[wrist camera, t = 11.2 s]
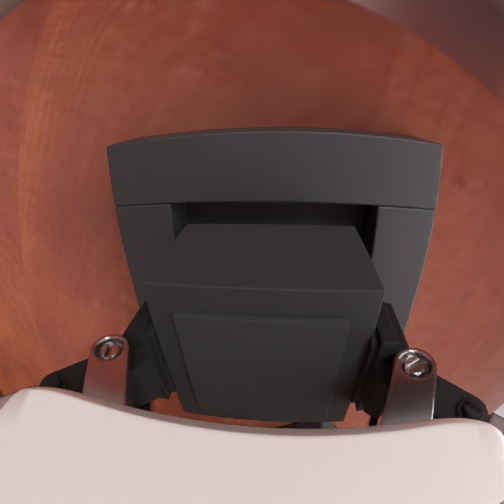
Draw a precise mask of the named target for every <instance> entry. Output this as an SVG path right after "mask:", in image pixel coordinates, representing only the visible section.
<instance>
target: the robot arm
mask: <svg viewBox="0 0 504 504" xmlns="http://www.w3.org/2000/svg"><path fill="white" fill-rule="evenodd" d="M436 373H437V367H436V362H435V360H434V359H433V357H432V356H431V355H430V354H429V353H427V352H425V351H424V350H421V349H418V348H409V347H408V344H407V341H406V339H405V336H404V334H403V331H402V329H401V326H400V324H399V321H398V319H397V316H396V314H395V311H394V309H393V307H392V305H391V303H389V302H386V303H385V302H384V300H383V302H382V306H381V310H380V314H379V317H378V321H377V325H376V328H375V332H374V335H373V336H371V338H370V341H369V345H368V348H367V351H366V354H365V358H364V361H363V364H362V367H361V370H360V373H359V376H358V379H357V382H356V385H355V387H354V390H353V393H352V396H351V398H350V401H351V403H353V402H355V405H356V411H358V410H364V412H366V413H367V414H368V415H369V418H368V421H367V424H366V426H365V427H351V428H330V429H287V428H264V427H250V426H239V425H229V424H220V423H213V422H205V421H199V420H192V419H186V418H180V417H175V416H170V415H165V414H160V413H155V406H154V400H156V399H158V397H159V398H164V399H169V397H170V394H171V392H175V391H176V387H175V384H174V382H173V379H172V376H171V373H170V371H169V368H168V365H167V362H166V359H165V356H164V353H163V350H162V347H161V344H160V341H159V338H158V335H157V332H156V328H155V327H154V325H153V322H152V319H151V315H150V312H149V309H148V305H147V301H146V300H145V302H144V303H143V305H142V306H141V308H140V309H139V311H138V312H137V314H136V315H135V317H134V318H133V320H132V321H131V323H130V324H129V326H128V328H127V329H126V331H125V332H124V334H123V335H122V336H121V335H117V334H111V335H106V336H104V337H102V338H100V339H98V340H97V341H96V342H95V343H94V344H93V345H92V347H91V350H90V354H89V358H88V359H86V360H83V361H81V362H78V363H76V364H73V365H71V366H68V367H66V368H63V369H61V370H58V371H55V372H53V373H51V374H49V375H47V376H46V377H45V378H44V379H43V380H42V381H41V383H40V385H39V387H38V386H37V385H33V386H30V387H27V388H25V389H22V390H19V391H16V392H13V393H10V394H7V395H4V396H2V397H1V398H0V504H504V418H503V417H501V416H499V415H497V414H495V413H493V412H492V413H491V415H489V414H488V412H487V409H486V406H485V404H484V403H483V402H482V401H481V400H480V399H478V398H477V397H475V396H473V395H472V394H470V393H468V392H466V391H464V390H463V389H461V388H459V387H457V386H455V385H454V384H452V383H450V382H448V381H446V380H445V379H443V378H441V377H439V376H438V375H436Z"/></svg>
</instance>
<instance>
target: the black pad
mask: <svg viewBox="0 0 504 504" xmlns="http://www.w3.org/2000/svg"><path fill="white" fill-rule="evenodd" d="M142 287H143V291H144V294H145V298H146V301H147V305H148V309H149V312H150V315H151V319H152V322H153V325H154V327H155V328H156V332H157V335H158V338H159V341H160V344H161V347H162V350H163V353H164V356H165V359H166V362H167V365H168V368H169V371H170V373H171V376H172V379H173V382H174V384H175V387H176V392H177V394H178V397H179V400H180V402H181V405H182V407H183V410H184V411H185V412H189V413H195V414H202V415H209V416H216V417H225V418H234V419H245V420H258V421H276V422H337V421H343V420H344V418H345V415H346V413H347V410H348V408H349V405H350V403H351V401H350V398H351V396H352V393H353V390H354V387H355V385H356V382H357V379H358V376H359V373H360V370H361V367H362V364H363V361H364V358H365V354H366V351H367V348H368V345H369V341H370V338H371V336H373V335H374V332H375V328H376V325H377V321H378V317H379V314H380V310H381V306H382V302H383V298H384V294H385V288H384V286H383V284H382V282H381V280H380V277H379V275H378V273H377V271H376V269H375V267H374V265H373V263H372V260H371V258H370V256H369V254H368V252H367V250H366V248H365V246H364V244H363V242H362V240H361V238H360V236H359V234H358V232H357V230H356V229H355V227H354V226H332V225H286V224H188V225H187V226H186V227H185V228H184V229H183V231H182V232H181V233H180V234H179V236H178V237H177V238H176V239H175V240H174V242H173V243H172V244H171V245H170V247H169V248H168V249H167V250H166V252H165V253H164V254H163V256H162V257H161V258H160V259H159V261H158V262H157V263H156V264H155V266H154V267H153V268H152V270H151V271H150V272H149V274H148V275H147V276H146V278H145V279H144V280H143V281H142Z"/></svg>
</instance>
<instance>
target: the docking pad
mask: <svg viewBox="0 0 504 504" xmlns="http://www.w3.org/2000/svg"><path fill="white" fill-rule="evenodd" d="M107 154H108V162H109V169H110V176H111V182H112V188H113V194H114V200H115V205H116V206H117V207H116V212H117V217H118V222H119V227H120V231H121V236H122V241H123V245H124V249H125V254H126V258H127V262H128V266H129V270H130V273H131V277H132V281H133V285H134V288H135V292H136V295H137V299H138V302H139V306H140V308H141V306H142V305H143V303H144V302H145V300H146V298H145V294H144V291H143V287H142V281H143V280H144V279H145V278H146V276H147V275H148V274H149V272H150V271H151V270H152V268H153V267H154V266H155V264H156V263H157V262H158V261H159V259H160V258H161V257H162V256H163V254H164V253H165V252H166V250H167V249H168V248H169V247H170V245H171V244H172V243H173V242H174V240H175V239H176V238H177V237H178V236H179V234H180V233H181V232H182V231H183V229H184V228H185V227H186V226H187V225H188V224H286V225H332V226H354V227H355V229H356V230H357V232H358V234H359V236H360V238H361V240H362V242H363V244H364V246H365V248H366V250H367V252H368V254H369V256H370V258H371V260H372V263H373V265H374V267H375V269H376V271H377V273H378V275H379V277H380V280H381V282H382V284H383V286H384V288H385V294H384V298H383V300H384V302H385V303H386V302H389V303H391V305H392V307H393V309H394V311H395V314H396V316H397V319H398V321H399V324H400V326H401V329H402V331H403V334H404V331H405V328H406V325H407V322H408V319H409V316H410V313H411V310H412V307H413V304H414V301H415V297H416V294H417V291H418V287H419V283H420V280H421V276H422V272H423V268H424V264H425V260H426V256H427V252H428V248H429V243H430V238H431V233H432V228H433V223H434V218H435V210H434V209H436V206H437V199H438V193H439V185H440V177H441V168H442V157H443V145H442V144H439V143H436V142H432V141H428V140H425V139H421V138H418V137H412V136H405V135H397V134H389V133H381V132H371V131H360V130H347V129H331V128H305V127H257V128H231V129H215V130H202V131H190V132H180V133H171V134H163V135H155V136H148V137H141V138H136V139H132V140H128V141H124V142H120V143H116V144H113V145H109V146H108V147H107Z"/></svg>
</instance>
